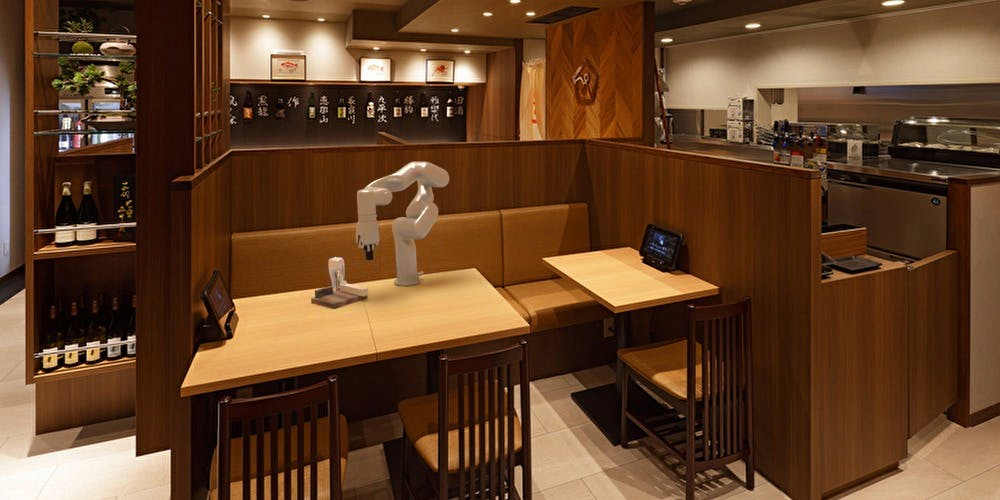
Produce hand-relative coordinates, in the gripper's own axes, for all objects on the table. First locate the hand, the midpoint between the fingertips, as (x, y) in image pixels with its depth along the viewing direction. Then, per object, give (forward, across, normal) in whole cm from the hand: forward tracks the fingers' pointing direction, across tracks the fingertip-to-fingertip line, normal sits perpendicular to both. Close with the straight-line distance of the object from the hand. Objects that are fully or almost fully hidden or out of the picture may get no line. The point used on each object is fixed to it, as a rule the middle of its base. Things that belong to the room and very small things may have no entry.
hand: (369, 259), depth 248 cm
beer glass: (+17, +3, -19) cm, 25 cm away
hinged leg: (+14, +6, -4) cm, 16 cm away
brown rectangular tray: (+17, +12, -6) cm, 22 cm away
